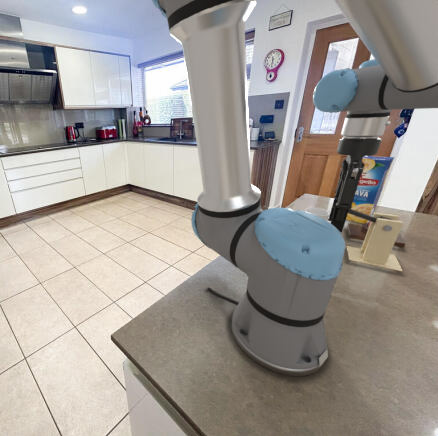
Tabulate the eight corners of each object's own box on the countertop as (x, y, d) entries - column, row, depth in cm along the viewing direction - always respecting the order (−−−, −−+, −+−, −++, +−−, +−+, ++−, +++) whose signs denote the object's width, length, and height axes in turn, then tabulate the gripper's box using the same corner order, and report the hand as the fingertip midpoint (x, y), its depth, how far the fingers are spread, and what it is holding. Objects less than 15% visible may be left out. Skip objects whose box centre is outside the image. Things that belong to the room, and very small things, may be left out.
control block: (348, 240, 72) (352, 229, 71) (346, 229, 79) (349, 218, 77) (402, 250, 66) (408, 238, 64) (395, 237, 73) (400, 225, 71)
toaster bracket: (348, 263, 62) (363, 219, 57) (345, 249, 68) (359, 208, 63) (400, 274, 57) (422, 227, 52) (393, 258, 63) (412, 215, 58)
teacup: (301, 228, 81) (304, 215, 80) (295, 216, 90) (297, 205, 88) (335, 230, 78) (339, 218, 76) (325, 219, 87) (328, 207, 85)
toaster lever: (334, 214, 61) (340, 206, 59) (333, 206, 65) (338, 199, 64) (391, 235, 56) (399, 227, 55) (386, 225, 60) (393, 217, 59)
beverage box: (335, 210, 93) (352, 154, 84) (372, 218, 85) (394, 157, 76) (329, 215, 90) (345, 157, 81) (366, 224, 81) (389, 160, 73)
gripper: (391, 141, 46) (356, 244, 55) (375, 133, 60) (349, 215, 69) (343, 141, 50) (317, 237, 59) (338, 133, 64) (318, 211, 73)
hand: (334, 225), depth 64 cm, fingers closed on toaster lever, 6 cm apart
